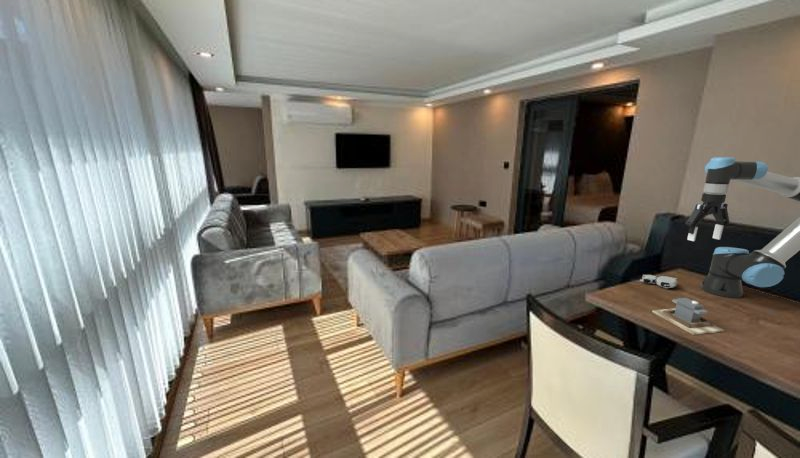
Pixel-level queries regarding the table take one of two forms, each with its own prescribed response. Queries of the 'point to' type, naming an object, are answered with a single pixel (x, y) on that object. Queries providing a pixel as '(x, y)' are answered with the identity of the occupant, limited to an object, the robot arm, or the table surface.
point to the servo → (688, 310)
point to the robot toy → (660, 281)
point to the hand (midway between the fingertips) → (703, 239)
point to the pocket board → (693, 328)
